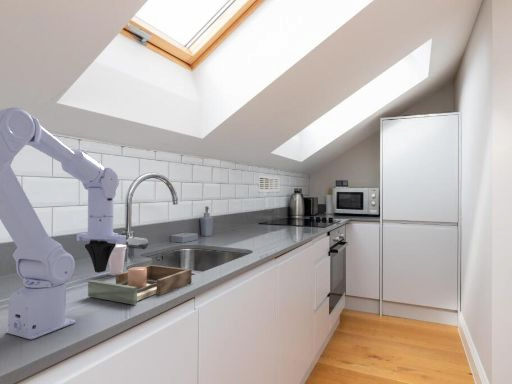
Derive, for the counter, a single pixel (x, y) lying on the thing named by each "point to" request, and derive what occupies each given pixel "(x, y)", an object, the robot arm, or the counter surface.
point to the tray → (120, 291)
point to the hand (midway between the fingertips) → (100, 271)
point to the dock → (163, 277)
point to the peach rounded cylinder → (137, 277)
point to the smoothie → (117, 259)
